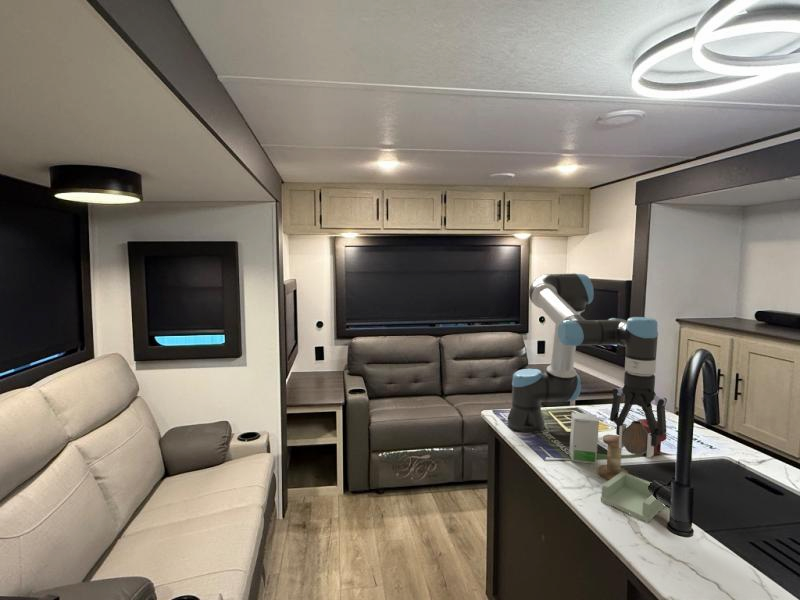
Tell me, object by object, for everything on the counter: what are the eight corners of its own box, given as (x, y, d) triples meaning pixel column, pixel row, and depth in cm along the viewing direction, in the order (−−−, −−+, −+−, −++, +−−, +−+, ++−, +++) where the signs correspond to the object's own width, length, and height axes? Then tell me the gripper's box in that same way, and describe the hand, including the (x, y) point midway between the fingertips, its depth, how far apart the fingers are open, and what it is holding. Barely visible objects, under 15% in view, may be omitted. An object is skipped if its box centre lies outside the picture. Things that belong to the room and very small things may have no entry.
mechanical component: (652, 462, 147) (626, 450, 156) (671, 456, 152) (645, 445, 161) (655, 428, 146) (628, 418, 155) (673, 423, 150) (646, 413, 159)
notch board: (600, 500, 125) (601, 485, 124) (620, 485, 133) (621, 470, 132) (648, 522, 115) (649, 505, 114) (667, 504, 123) (668, 488, 122)
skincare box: (571, 461, 148) (573, 418, 147) (568, 453, 155) (570, 411, 153) (597, 464, 146) (599, 420, 145) (593, 455, 153) (595, 413, 151)
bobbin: (592, 474, 140) (594, 438, 139) (606, 465, 146) (607, 431, 144) (620, 485, 133) (622, 448, 132) (633, 476, 139) (635, 440, 137)
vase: (645, 448, 124) (647, 418, 124) (652, 458, 118) (654, 428, 117) (619, 445, 126) (620, 416, 125) (625, 455, 120) (626, 425, 119)
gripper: (598, 367, 125) (595, 443, 127) (674, 383, 110) (669, 468, 112) (610, 363, 130) (607, 436, 132) (685, 377, 114) (679, 459, 117)
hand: (635, 451), depth 122 cm, fingers closed on vase, 7 cm apart
